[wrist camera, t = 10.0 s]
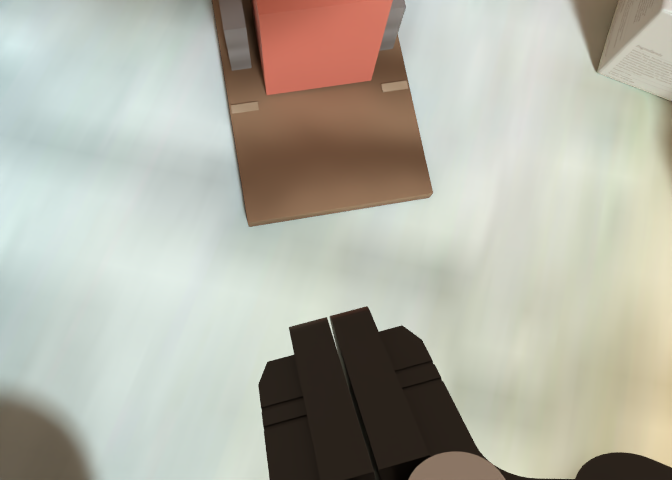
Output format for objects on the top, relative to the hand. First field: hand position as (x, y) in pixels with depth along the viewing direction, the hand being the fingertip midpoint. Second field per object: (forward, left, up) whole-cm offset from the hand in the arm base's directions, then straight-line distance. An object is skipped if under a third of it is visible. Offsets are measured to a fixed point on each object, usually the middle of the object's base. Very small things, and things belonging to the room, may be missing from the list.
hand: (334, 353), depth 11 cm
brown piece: (-8, +16, -24) cm, 30 cm away
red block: (-9, +17, -22) cm, 30 cm away
